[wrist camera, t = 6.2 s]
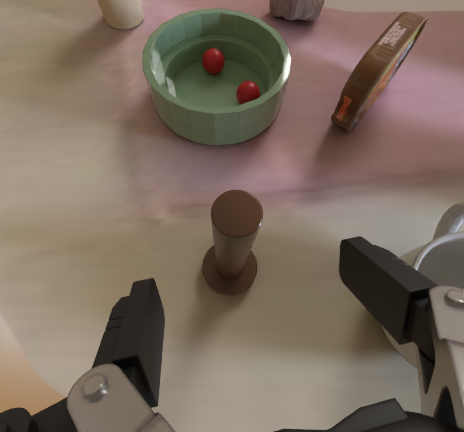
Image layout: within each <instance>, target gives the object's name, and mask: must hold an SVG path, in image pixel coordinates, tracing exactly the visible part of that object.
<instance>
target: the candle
mask: <svg viewBox="0 0 464 432" xmlns="http://www.w3.org/2000/svg"><path fill="white" fill-rule="evenodd" d="M98 3H99V5H100V8H101V10H102V13H103V15H104V18H105V20H106V22H107V23H108V25H110V26H111V27H113V28H116V29H131V28H134V27H136V26H138V25H139V24H140V23H141V22H142V21H143V19H144V12H143V8H142V4H141V0H98Z"/></svg>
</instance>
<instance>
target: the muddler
mask: <svg viewBox="0 0 464 432" xmlns="http://www.w3.org/2000/svg"><path fill="white" fill-rule="evenodd" d="M262 219H263V210H262V206H261V204H260V202H259V201H258V200H257V198H256V197H254V196H253V195H252V194H250V193H248V192H246V191H243V190H231V191H227V192H225V193H223V194H221V195H220V196H219V197H218V198H217V199H216V200H215V202H214V203H213V205H212V209H211V220H212V229H213V238H214V245H213V246H212V247H211V248H210V249H209V250H208V252H207V253H206V255H205V257H204V260H203V267H202V269H203V275H204V278H205V280H206V282H207V284H208V285H209V286H210V288H211V289H213V290H214V291H215V292H217V293H219V294H222V295H226V296H233V295H238V294H240V293H242V292H244V291H245V290H247V289H248V288H249V287H250V285H251V284H252V283H253V281H254V279H255V277H256V273H257V262H256V258H255V256H254V254H253V252H252V251H251V248H252V245H253V243H254V240H255V238H256V235H257V233H258V230H259V228H260V225H261V223H262Z"/></svg>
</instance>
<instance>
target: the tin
mask: <svg viewBox="0 0 464 432" xmlns="http://www.w3.org/2000/svg"><path fill="white" fill-rule="evenodd" d="M427 20H428V18H423V17H420V16H417V15H415V14H412V13H409V12H403V13H402V14H400V15H399V16H398V17H397V18H396V19H395V21H394V22H393V23H392V24H391V25H390V26H389V27H388V28H387V29H386V31H385V32H384V33H383V34H382V35H381V36H380V37H379V38H378V40H377V41H376V42H375V43H374V44H373V45H372V47H371V48H370V49H369V50H368V51H367V52H366V54H365V55H364V56H363V57H362V59H361V60H360V62H359V63H358V64H357V66H356V67H355V69H354V71H353V72H352V74H351V76H350V77H349V79H348V81H347V83H346V84H345V86H344V88H343V90H342V93H341V97H340V100H339V102H338V104H337V106H336V109H335V111H334V113H333V114H332V116H331V120H332V121H333V122H334V123H336V124H337V125H339V126H341V127H343V128H345V129H347V131H348V132H350V131H351V130H352V129H353V128H354V127H355V126H356V125H357V123H358V122H359V121H360V120H361V118H362V117H363V116H364V115H365V113H366V112H367V111H368V109H369V108H370V107H371V106H372V104H373V103H374V102H375V101H376V99H377V98H378V97H379V96H380V94H381V93H382V92H383V90H384V89H385V88H386V86H387V85H388V84H389V82H390V81H391V79H392V78H393V76H394V75H395V73H396V72H397V70H398V69H399V67H400V66H401V64H402V63H403V61H404V59H405V58H406V56H407V55H408V53H409V51H410V50H411V48H412V47H413V45H414V43H415V42H416V40H417V39H418V37H419V35H420V33H421V32H422V30H423V28H424V26H425V24H426V22H427Z"/></svg>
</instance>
